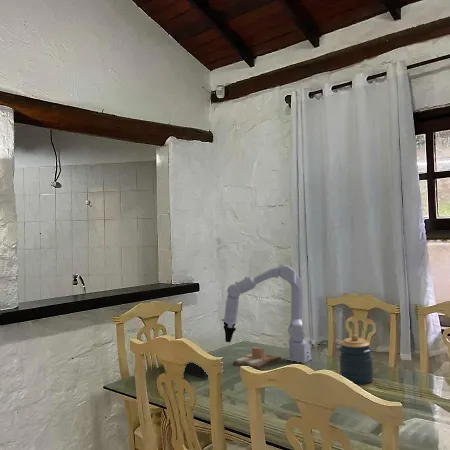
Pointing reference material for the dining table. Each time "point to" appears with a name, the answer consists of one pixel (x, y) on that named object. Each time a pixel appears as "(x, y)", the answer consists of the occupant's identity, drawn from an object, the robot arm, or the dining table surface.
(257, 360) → the ticket board
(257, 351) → the stub
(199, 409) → the dining table surface
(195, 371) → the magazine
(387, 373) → the dining table surface
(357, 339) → the canister
